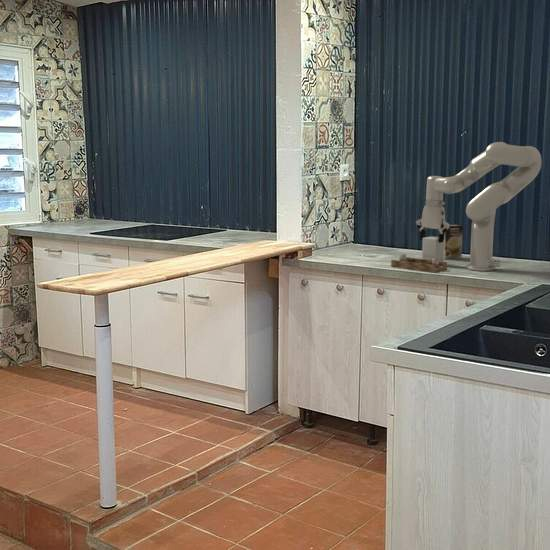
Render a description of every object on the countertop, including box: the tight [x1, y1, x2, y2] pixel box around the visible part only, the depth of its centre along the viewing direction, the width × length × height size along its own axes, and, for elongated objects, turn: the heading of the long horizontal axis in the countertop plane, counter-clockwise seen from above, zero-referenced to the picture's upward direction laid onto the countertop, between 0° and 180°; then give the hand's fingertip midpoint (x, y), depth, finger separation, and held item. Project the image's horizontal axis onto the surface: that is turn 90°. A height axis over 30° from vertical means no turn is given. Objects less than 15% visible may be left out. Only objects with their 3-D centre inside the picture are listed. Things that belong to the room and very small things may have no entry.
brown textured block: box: [390, 253, 448, 273], centre depth 352 cm, size 22×11×5 cm, turn 48°
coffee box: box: [444, 224, 464, 260], centre depth 377 cm, size 9×6×16 cm
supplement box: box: [421, 235, 445, 262], centre depth 360 cm, size 7×7×13 cm
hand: (431, 240), depth 360 cm, fingers open, 9 cm apart
